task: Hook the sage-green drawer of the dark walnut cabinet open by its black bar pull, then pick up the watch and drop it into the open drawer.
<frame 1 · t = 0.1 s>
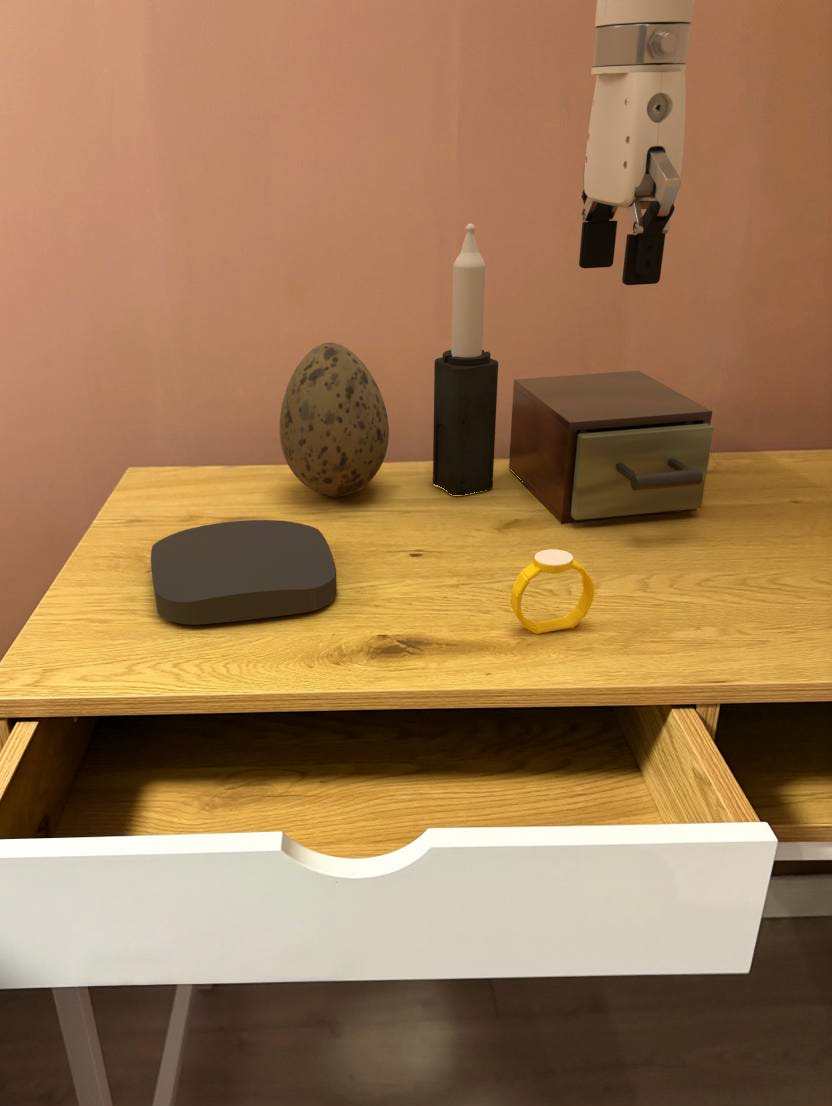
hand: (617, 275, 87), 21 cm above the table, tool pointing down, fingers open, 9 cm apart
candle: (462, 487, 100), on the table
media streaming box: (243, 585, 81), on the table
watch: (549, 630, 73), on the table
cabinet: (597, 488, 98), on the table
decorative egg: (336, 495, 99), on the table
drawer: (621, 457, 92), point 5 cm above the table, slide at 0.5 cm
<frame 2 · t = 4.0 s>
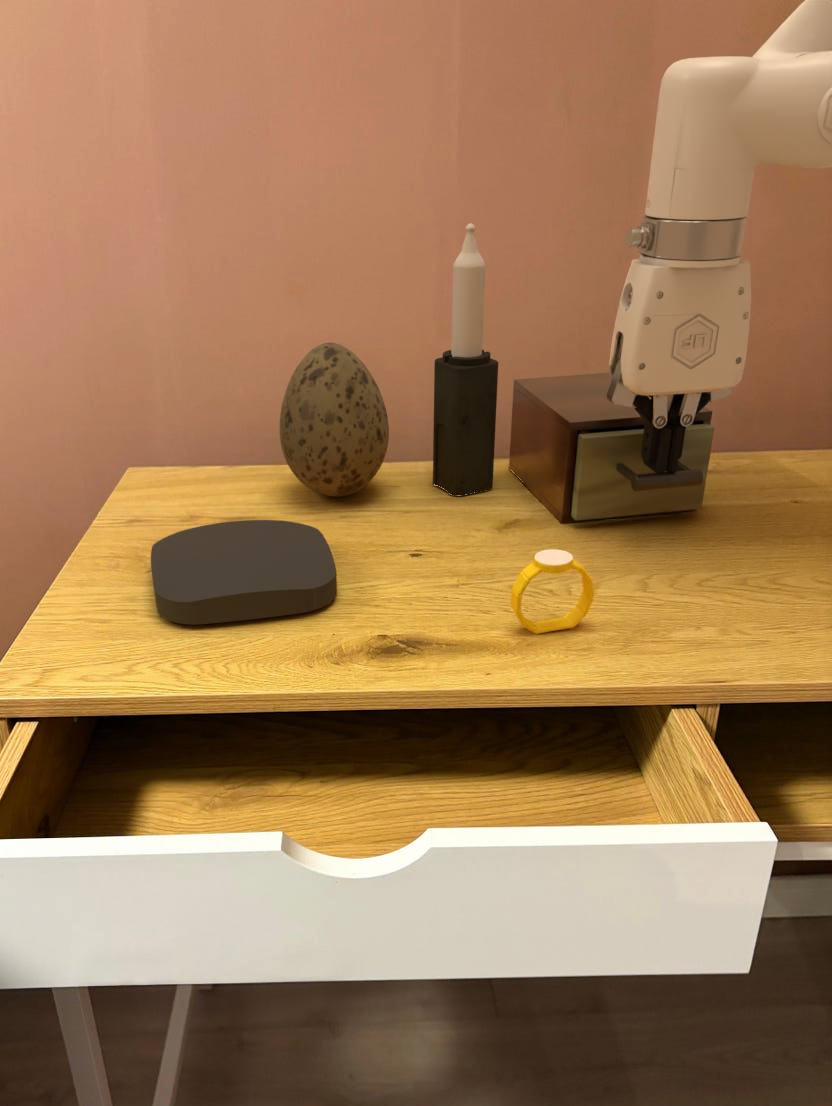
hand: (659, 467, 84), 6 cm above the table, tool pointing down, fingers closed
drawer: (622, 457, 92), point 5 cm above the table, slide at 0.6 cm, touching gripper
everything else where it was.
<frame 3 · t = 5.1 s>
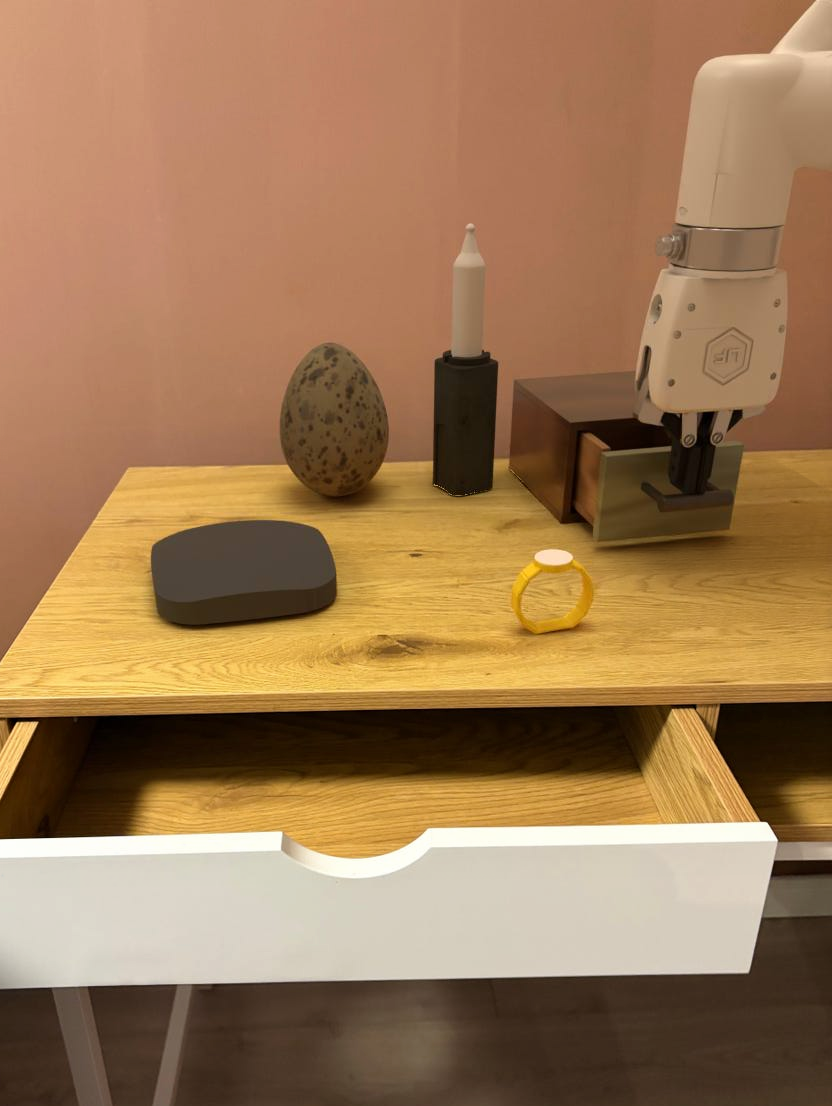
hand: (686, 487, 80), 6 cm above the table, tool pointing down, fingers closed
drawer: (645, 475, 88), point 5 cm above the table, slide at 5.7 cm, touching gripper
everything else where it was.
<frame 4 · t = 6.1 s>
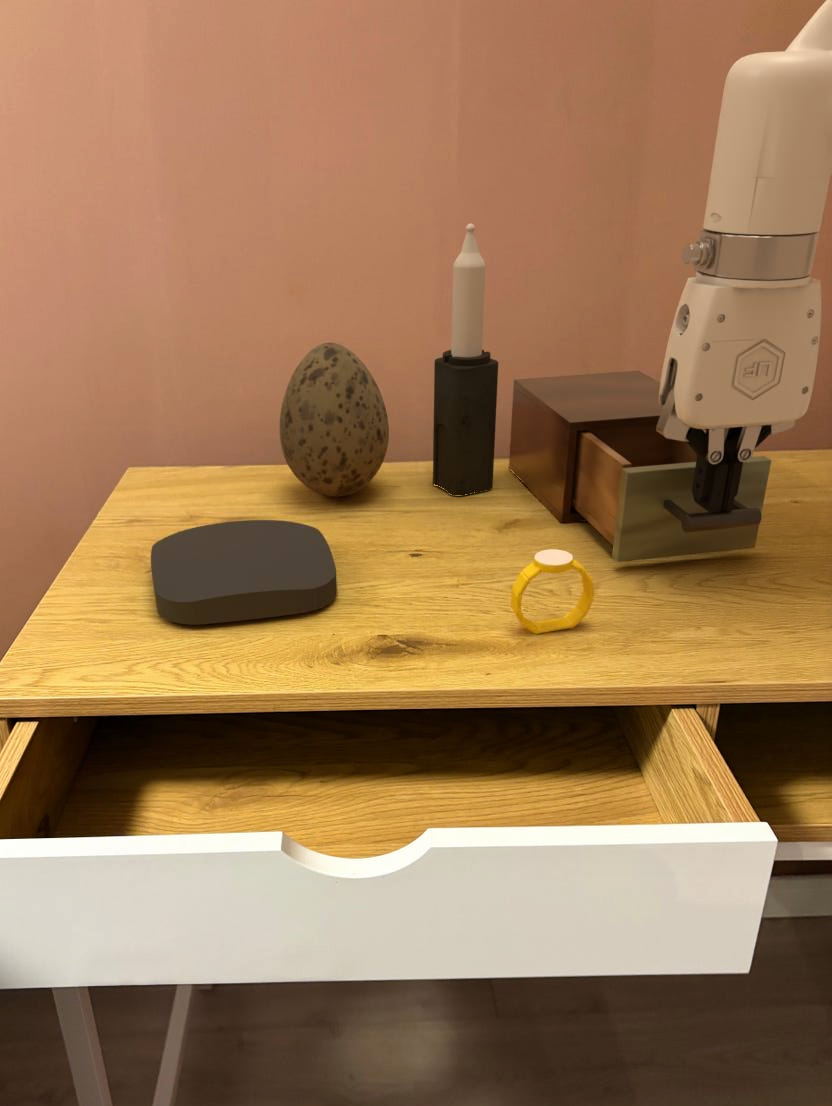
hand: (711, 506, 76), 6 cm above the table, tool pointing down, fingers closed
drawer: (667, 491, 84), point 5 cm above the table, slide at 9.9 cm, touching gripper
everything else where it was.
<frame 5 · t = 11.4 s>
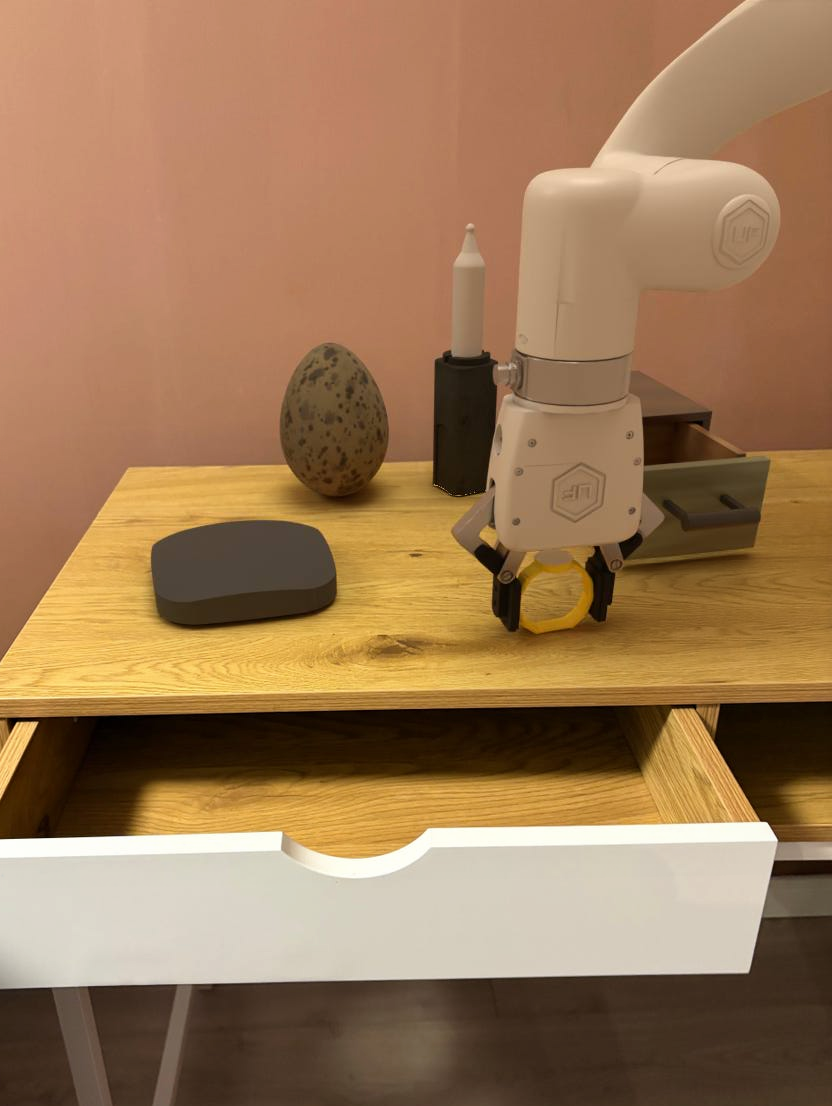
hand: (550, 616, 73), 1 cm above the table, tool pointing down, fingers closed on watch, 6 cm apart
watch: (549, 630, 73), on the table, touching gripper
drawer: (666, 491, 84), point 5 cm above the table, slide at 9.8 cm
everything else where it was.
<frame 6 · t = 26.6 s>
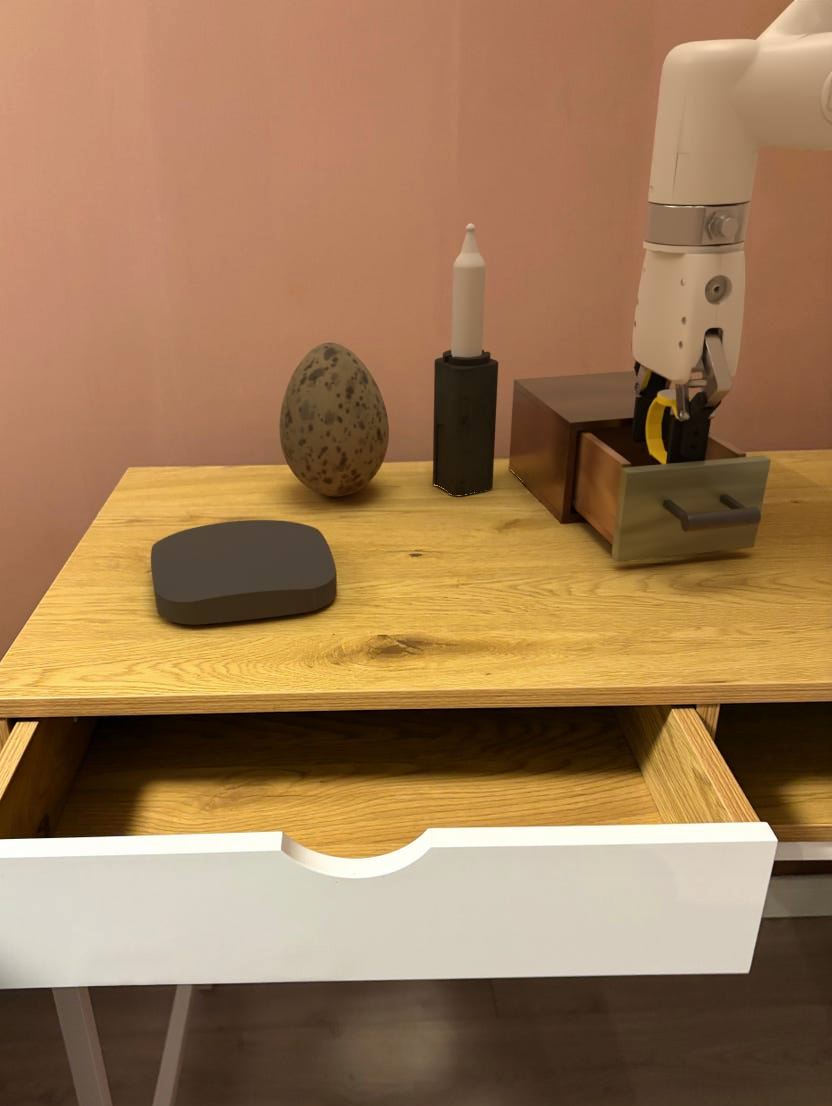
hand: (666, 450, 84), 8 cm above the table, tool pointing down, fingers closed on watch, 6 cm apart
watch: (664, 463, 84), point 7 cm above the table, touching gripper
everything else where it was.
when the fingers open (10 cm above the table, at t = 33.0 s): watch drops 7 cm, resting on drawer.
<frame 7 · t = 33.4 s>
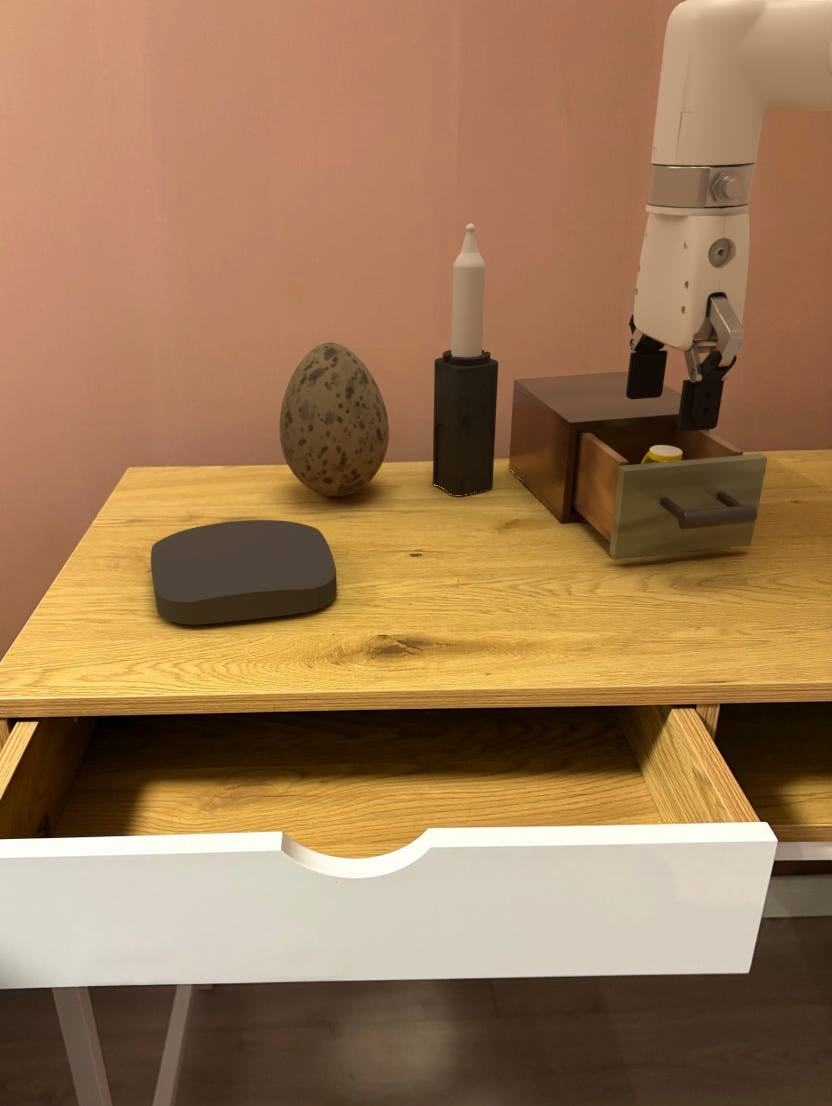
hand: (668, 412, 82), 11 cm above the table, tool pointing down, fingers open, 9 cm apart
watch: (654, 515, 87), point 2 cm above the table, touching drawer
drawer: (664, 489, 84), point 5 cm above the table, slide at 9.3 cm, touching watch
everything else where it was.
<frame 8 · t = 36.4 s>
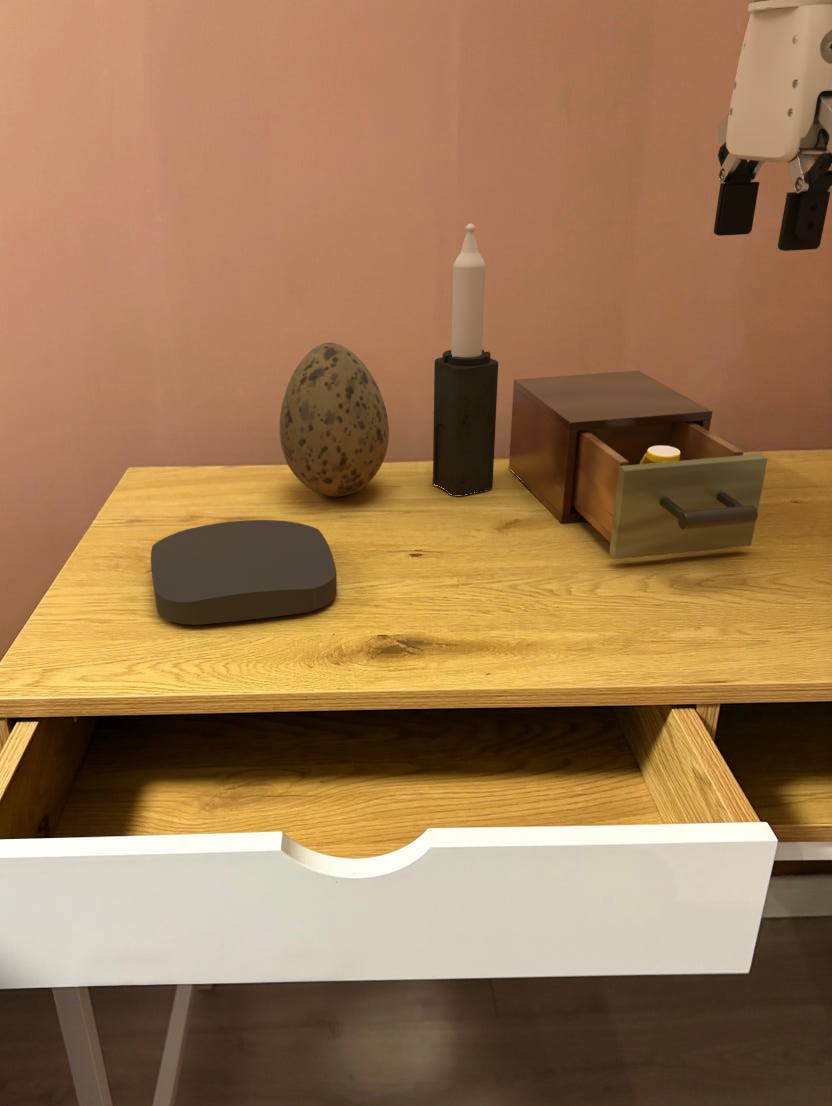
hand: (763, 241, 78), 24 cm above the table, tool pointing down, fingers open, 9 cm apart
nothing on the table moved.
at the end: drawer slide at 9.3 cm; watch inside the target area in the drawer (2.7 cm from its centre), point 1.8 cm above the drawer's base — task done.
